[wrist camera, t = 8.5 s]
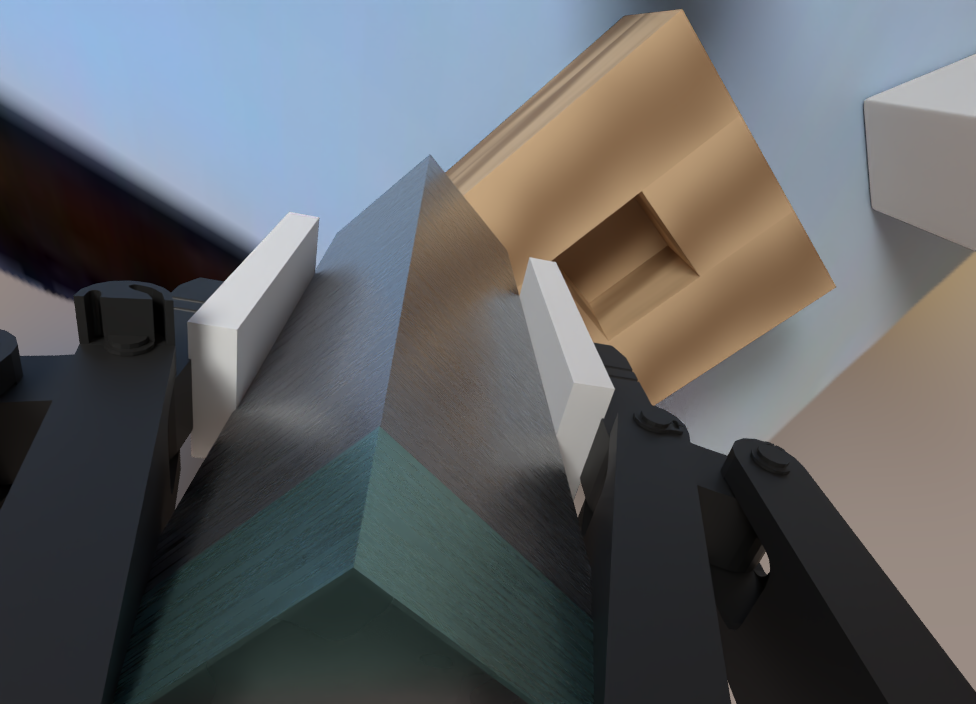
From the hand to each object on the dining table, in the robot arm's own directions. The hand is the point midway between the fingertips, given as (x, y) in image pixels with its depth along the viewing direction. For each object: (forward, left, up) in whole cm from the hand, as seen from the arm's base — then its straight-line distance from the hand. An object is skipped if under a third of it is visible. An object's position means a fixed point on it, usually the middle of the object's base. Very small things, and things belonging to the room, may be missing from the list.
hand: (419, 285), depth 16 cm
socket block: (+9, +5, -21) cm, 23 cm away
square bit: (0, 0, -4) cm, 4 cm away
